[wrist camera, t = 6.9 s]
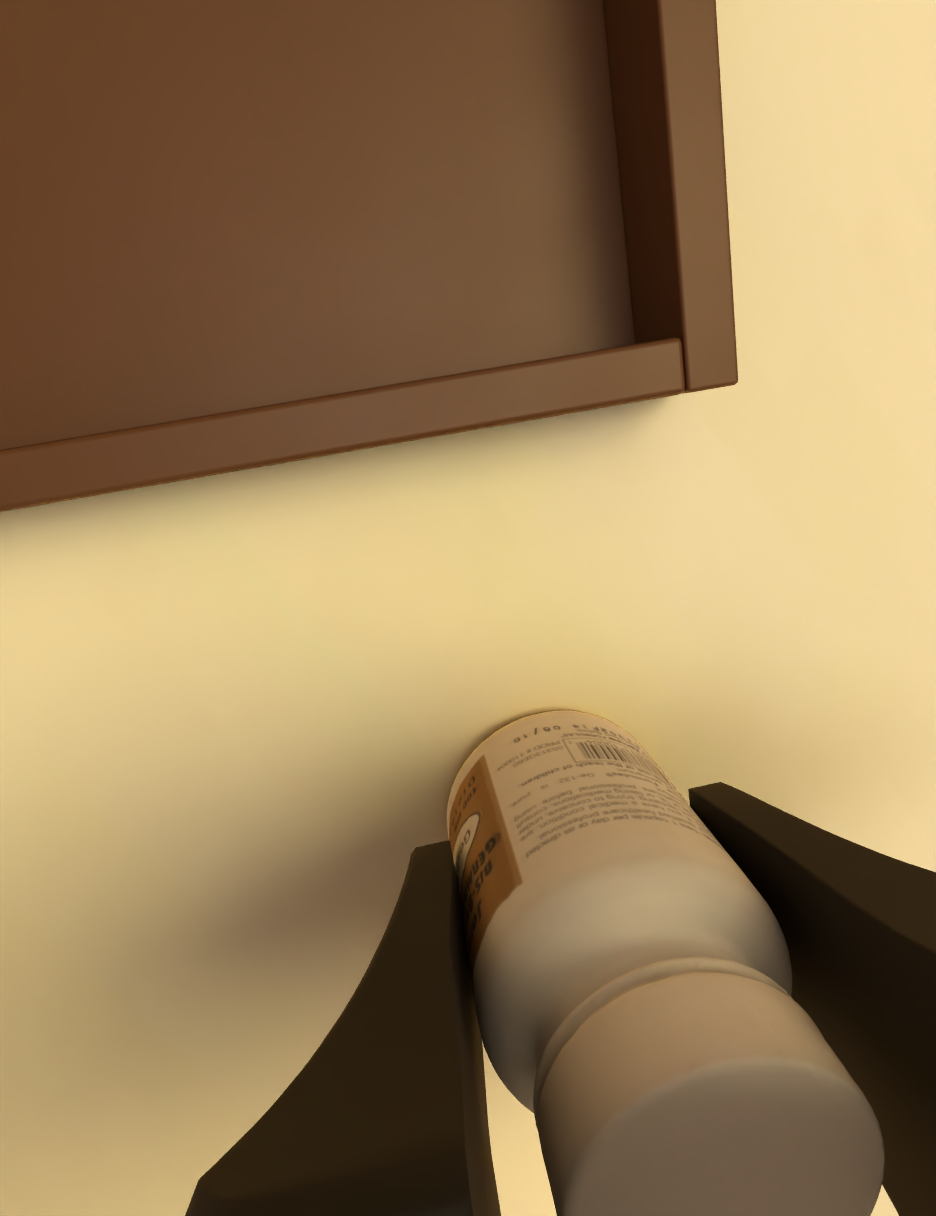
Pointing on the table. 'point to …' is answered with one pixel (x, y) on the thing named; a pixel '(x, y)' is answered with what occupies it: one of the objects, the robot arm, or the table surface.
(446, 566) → the table surface
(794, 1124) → the pill bottle
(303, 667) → the table surface
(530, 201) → the tray
